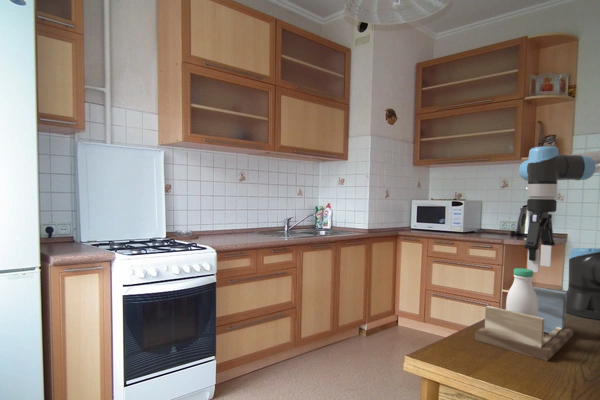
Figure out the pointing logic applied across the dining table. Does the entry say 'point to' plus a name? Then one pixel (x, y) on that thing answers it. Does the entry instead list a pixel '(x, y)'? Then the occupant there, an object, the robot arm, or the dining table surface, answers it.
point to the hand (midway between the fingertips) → (539, 268)
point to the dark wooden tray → (524, 348)
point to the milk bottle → (522, 293)
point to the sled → (530, 320)
